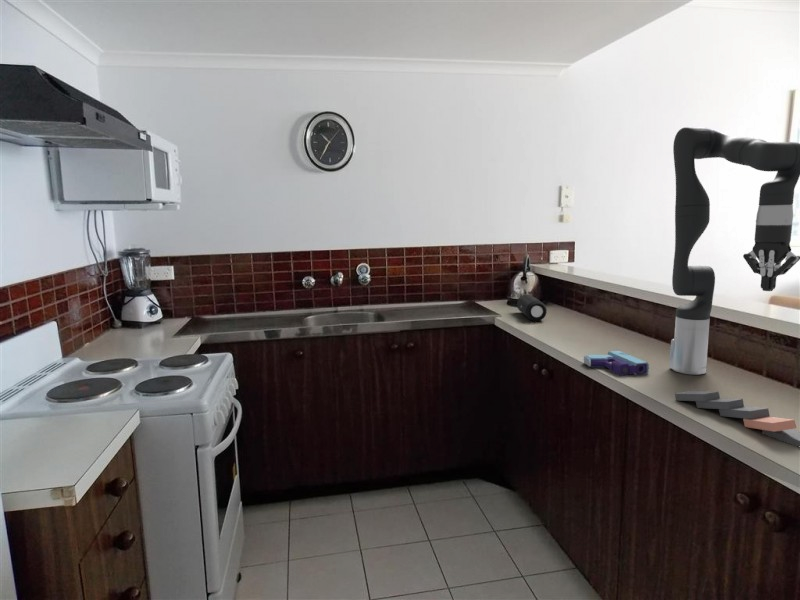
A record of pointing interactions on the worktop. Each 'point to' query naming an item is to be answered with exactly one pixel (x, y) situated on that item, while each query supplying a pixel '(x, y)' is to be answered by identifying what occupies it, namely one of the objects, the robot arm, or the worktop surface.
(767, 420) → the domino
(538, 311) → the portable speaker
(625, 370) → the pistol
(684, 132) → the robot arm
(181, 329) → the worktop surface
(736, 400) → the domino
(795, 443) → the domino
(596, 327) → the worktop surface
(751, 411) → the domino
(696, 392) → the domino
